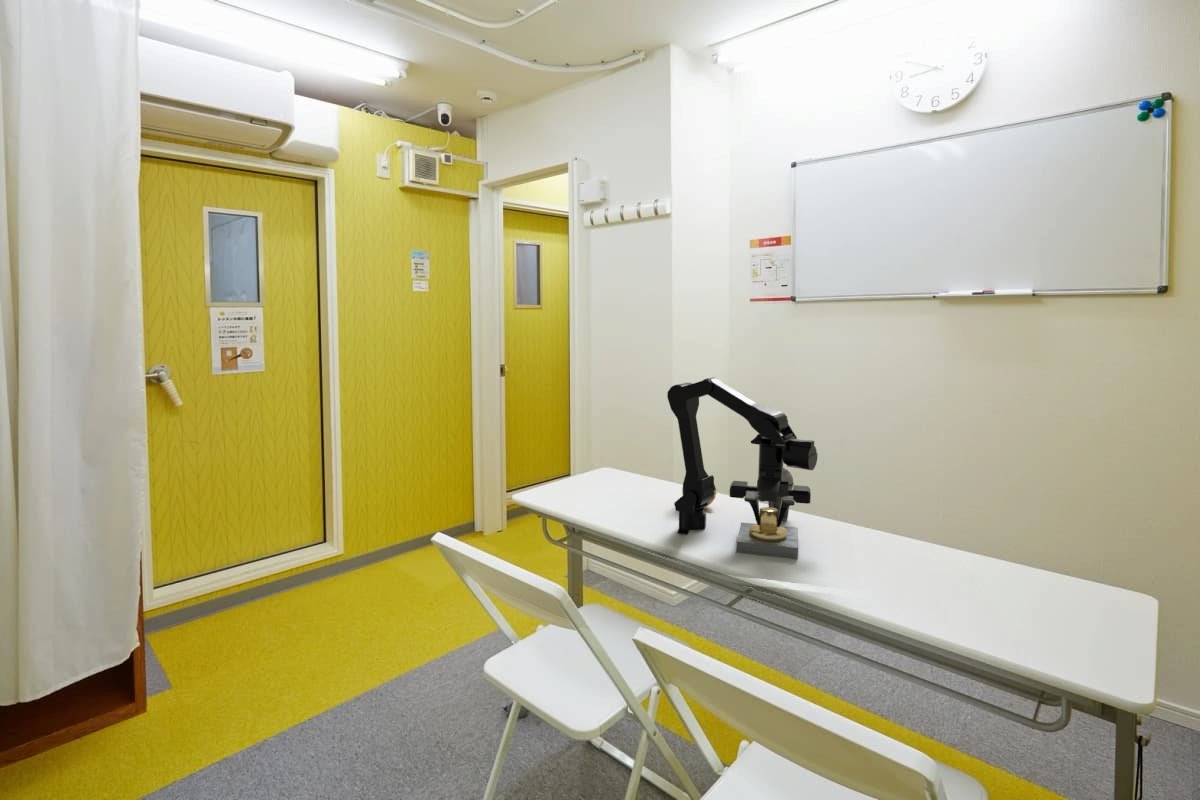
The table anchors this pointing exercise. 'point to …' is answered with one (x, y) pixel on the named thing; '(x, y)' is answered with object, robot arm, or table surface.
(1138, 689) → the table surface
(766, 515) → the end cover
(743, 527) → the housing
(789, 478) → the beverage cup
